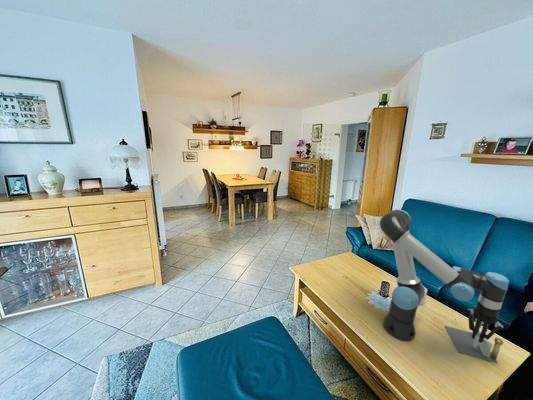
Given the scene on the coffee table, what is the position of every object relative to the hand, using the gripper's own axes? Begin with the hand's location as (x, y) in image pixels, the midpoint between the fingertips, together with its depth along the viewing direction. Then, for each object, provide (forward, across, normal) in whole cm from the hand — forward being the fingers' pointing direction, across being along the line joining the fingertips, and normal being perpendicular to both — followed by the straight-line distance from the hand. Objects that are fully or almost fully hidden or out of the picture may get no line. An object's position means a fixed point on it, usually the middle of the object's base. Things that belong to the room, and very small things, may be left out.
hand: (475, 345), depth 108 cm
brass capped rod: (+3, -6, -2) cm, 7 cm away
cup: (+4, +34, -11) cm, 36 cm away
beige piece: (+2, -1, -4) cm, 4 cm away
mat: (+3, +3, -3) cm, 5 cm away
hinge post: (+3, +3, -10) cm, 11 cm away
